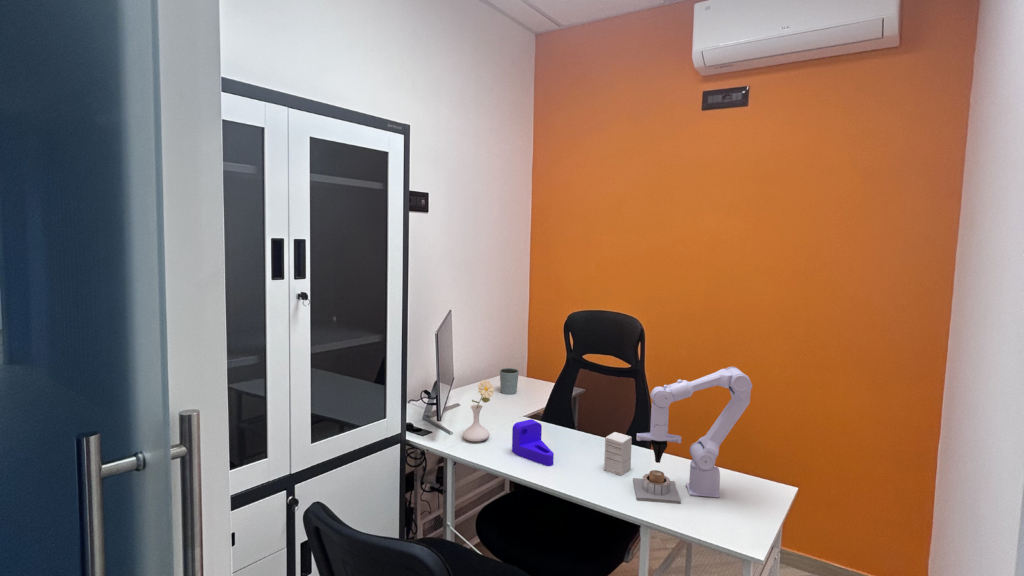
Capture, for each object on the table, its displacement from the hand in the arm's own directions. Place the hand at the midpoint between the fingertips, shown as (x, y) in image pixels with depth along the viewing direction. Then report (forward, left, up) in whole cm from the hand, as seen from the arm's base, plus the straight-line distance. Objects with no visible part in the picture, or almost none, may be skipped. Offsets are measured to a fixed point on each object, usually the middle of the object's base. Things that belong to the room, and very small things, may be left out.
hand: (657, 461), depth 186 cm
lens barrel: (0, +2, -10) cm, 10 cm away
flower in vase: (+68, -33, -10) cm, 76 cm away
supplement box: (+12, -13, -10) cm, 20 cm away
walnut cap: (0, +2, -9) cm, 9 cm away
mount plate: (0, +2, -10) cm, 10 cm away
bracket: (+43, -18, -10) cm, 47 cm away
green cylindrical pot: (+64, -98, -10) cm, 117 cm away
